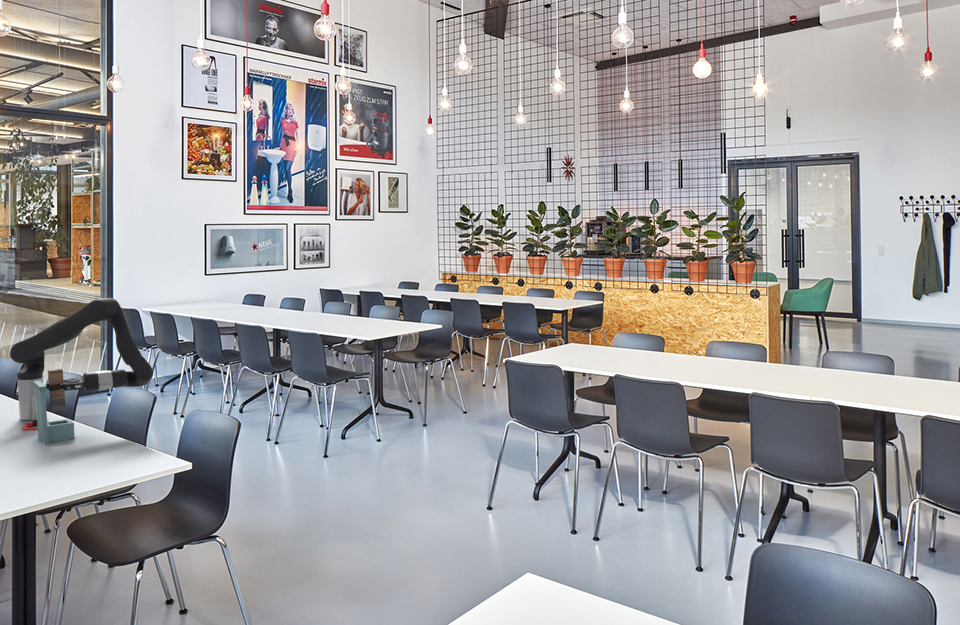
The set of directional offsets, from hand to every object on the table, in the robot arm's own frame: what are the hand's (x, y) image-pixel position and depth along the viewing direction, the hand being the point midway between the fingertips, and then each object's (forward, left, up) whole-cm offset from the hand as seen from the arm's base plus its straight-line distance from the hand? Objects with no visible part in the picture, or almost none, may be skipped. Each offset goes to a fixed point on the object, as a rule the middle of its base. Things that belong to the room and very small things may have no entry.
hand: (47, 387), depth 272 cm
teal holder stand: (0, +3, -20) cm, 20 cm away
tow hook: (-24, -2, -20) cm, 32 cm away
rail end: (0, +3, -10) cm, 10 cm away
